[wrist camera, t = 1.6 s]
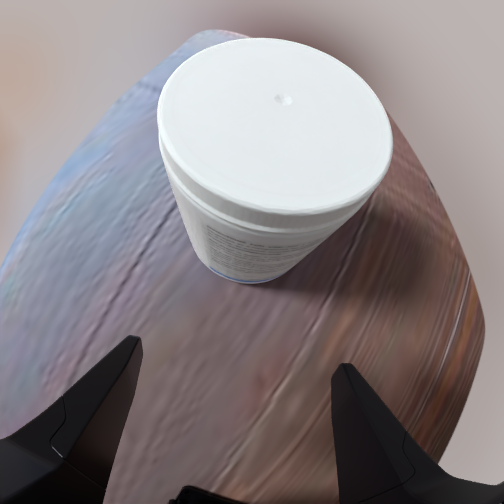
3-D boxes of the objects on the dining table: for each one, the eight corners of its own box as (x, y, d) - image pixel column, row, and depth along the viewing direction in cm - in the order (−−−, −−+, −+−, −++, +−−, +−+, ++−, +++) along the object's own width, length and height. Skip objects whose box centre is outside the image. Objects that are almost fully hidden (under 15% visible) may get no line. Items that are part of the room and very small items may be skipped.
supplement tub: (325, 229, 24) (431, 132, 10) (248, 311, 22) (306, 292, 8) (245, 156, 25) (273, 17, 11) (164, 225, 23) (105, 101, 9)
